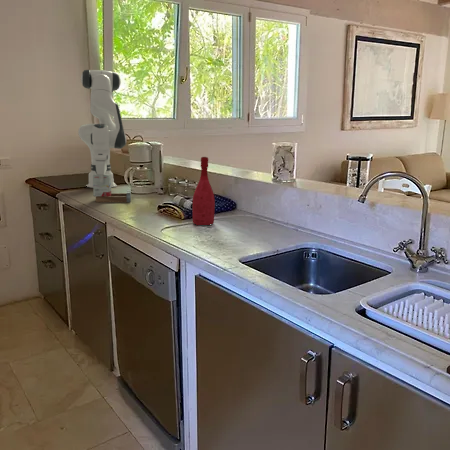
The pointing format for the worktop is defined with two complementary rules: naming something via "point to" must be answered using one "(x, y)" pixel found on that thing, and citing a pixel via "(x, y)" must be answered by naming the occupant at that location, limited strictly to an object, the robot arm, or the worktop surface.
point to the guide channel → (115, 197)
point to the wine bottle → (203, 198)
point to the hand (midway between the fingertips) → (102, 181)
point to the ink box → (102, 185)
